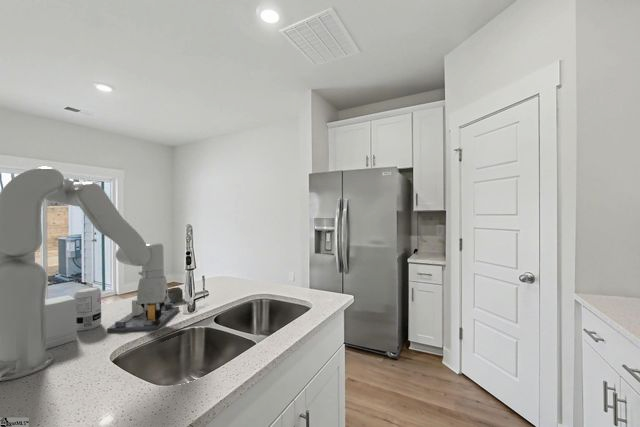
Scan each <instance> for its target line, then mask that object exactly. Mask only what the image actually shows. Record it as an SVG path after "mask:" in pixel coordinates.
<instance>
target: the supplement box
mask: <svg viewBox="0 0 640 427" xmlns="http://www.w3.org/2000/svg"><path fill="white" fill-rule="evenodd" d="M45 311H46V350H48V349H51V348H54V347H57V346H61V345H64V344H68V343H71V342H75V341H77V340H78V334H77V332H78V331H77V315H76V299H75V298H74V296H73V297H72V296H71V295H68V294H67V295H61V296H57V297H51V298H45Z"/></svg>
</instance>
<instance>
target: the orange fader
mask: <svg viewBox="0 0 640 427" xmlns="http://www.w3.org/2000/svg"><path fill="white" fill-rule="evenodd" d="M155 310H156V303H151V304H149V305H148V319H153V322H155V321H156V320H155Z"/></svg>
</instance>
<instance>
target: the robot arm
mask: <svg viewBox="0 0 640 427" xmlns="http://www.w3.org/2000/svg"><path fill="white" fill-rule="evenodd" d="M45 200H48V201H51V202H54V203H55V202H56V203H60V204H64V205H69V206H73V207H79V208H80V210H81V211H82V212H83V214H85V216H86V217H87V219H88V220H89V222H90V223H91V225H93V227H94V229H95V230H97V231H98V232H99V233H100V234H101V235H104V236H105V237H107V238H109V239H110V240H111V241H113V242H114V243H115V244H116V245H117V246H118V247H119V248H118V249H117V250H116V253H115V258H116V260H117V261H118V262H120V263H121V264H124V265H128V266H129V265H130V266H134V267H141V271H138V275H139V276H140V275H141V277H140V278H139V281H138V285H137V293H136V294H137V295H136V298H137V302H136V304H138V305H140V306H142V307H143V308H144V310H145V311H146V318H147V319H148V305H149V304H151V303H156V310H155V320H158V319H159V318H160V317H161V308H164V307H165V304H167V303H169V302H170V301H171V300H170V298H169V297H168V289H169V287H168V281H167V278H166V275H165V273H164V272H165V269H164V268H165V266H164V257H165V256H164V245H163V244H162V243H160V242H150V243H146V242H145V240H144V239H143V237H142V235H140V233H139V232H138V231H137V230H136V229H135V228H134V227H133V226H132V225H130V223H129V222H128V221H127V220H125V218H124V217H123V216H122V215H121V214H120V212H119V210H118V209H117V207H116V206H115V204H113V201H112V200H111V199H110V197H109V195H108V194H107V192H105V190H104V188H103V187H101V185H99V184H98V183H97V182H92V181H83V182H78V181H73V180H69V179H66V178H65V177H64V175H63V174H62V173H61V172H60V171H59V170H57V169H56V168H54V167H49V166H39V167H35V168H31V169H29V170H26V171H24V172H21V173H19V174H17V175H16V176H15V177H13V178H12V179H11V180H9V181H8V182H7V184H6V185H5V186H4V187H3V189H2V191H1V192H0V382H3V381H5V382H6V381H10V380H15V379H19V378H23V377H25V376H29V375H32V374H34V373H37V372H38V371H41V370H43V369H45V368H46V367H48V366H49V365H50V364H52V363H53V361H54V355H53V354H51V353H47V349H46V311H45V300H46V294H47V293H46V292H47V284H48V275H47V274H48V273H47V271H46V270H45V268H44V267H43V265H41V264H39V263H37V262H36V252H37V251H38V250H39V249H40V248H41V247H42V244H43V232H42V207H43V203H44V201H45ZM164 300H165V301H164ZM163 301H164V302H163Z"/></svg>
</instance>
